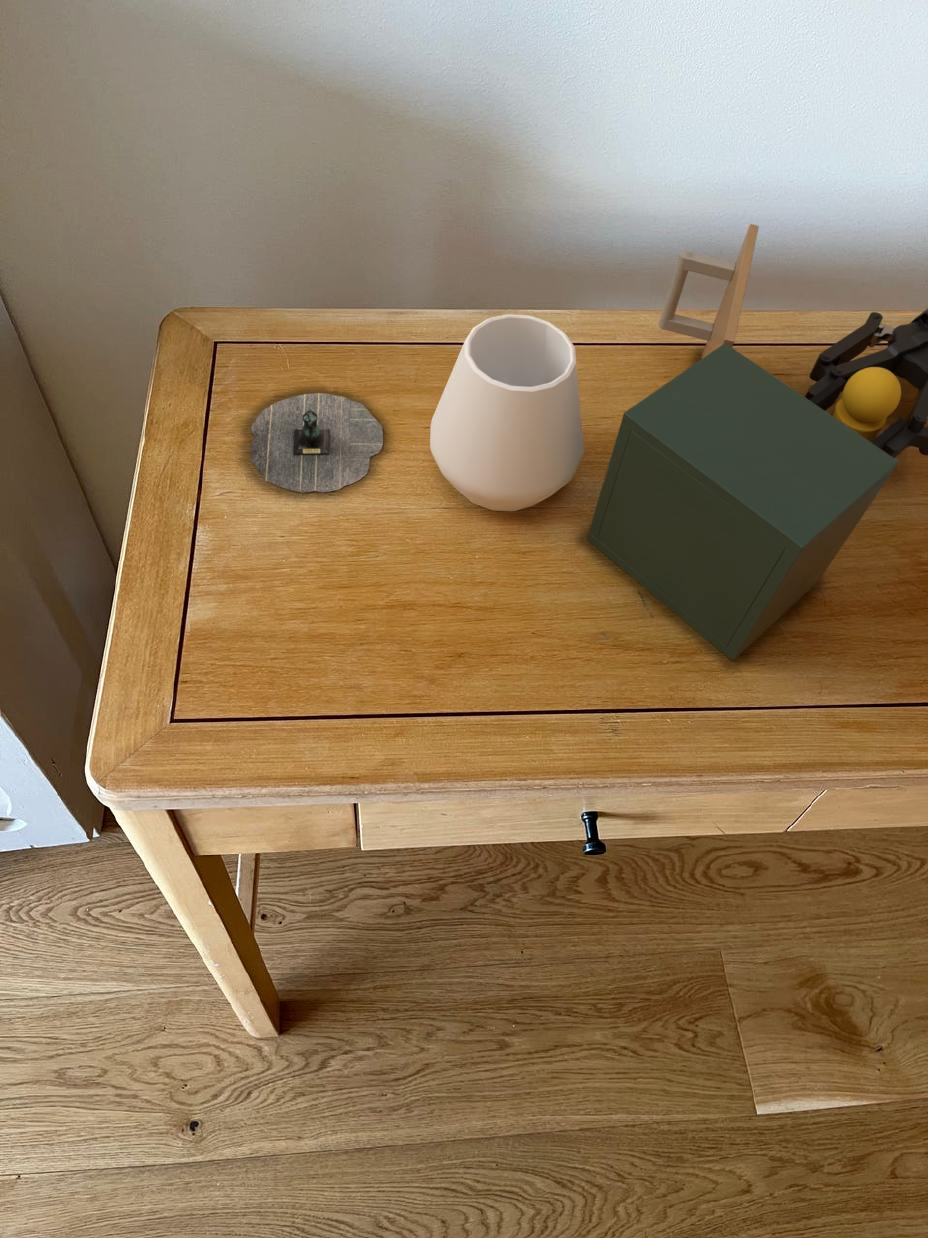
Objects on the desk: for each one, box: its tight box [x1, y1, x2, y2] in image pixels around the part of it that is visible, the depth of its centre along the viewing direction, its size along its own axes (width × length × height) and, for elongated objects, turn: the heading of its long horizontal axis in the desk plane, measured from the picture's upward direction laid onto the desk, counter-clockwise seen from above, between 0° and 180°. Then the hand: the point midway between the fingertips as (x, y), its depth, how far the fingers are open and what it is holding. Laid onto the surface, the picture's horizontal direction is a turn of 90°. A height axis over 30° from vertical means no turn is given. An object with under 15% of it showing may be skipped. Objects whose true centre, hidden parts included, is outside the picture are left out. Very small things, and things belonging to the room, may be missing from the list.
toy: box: [829, 367, 902, 442], centre depth 82 cm, size 5×5×11 cm
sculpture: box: [249, 392, 384, 494], centre depth 84 cm, size 12×9×8 cm
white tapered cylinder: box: [429, 313, 585, 512], centre depth 77 cm, size 13×13×14 cm
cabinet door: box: [658, 223, 760, 360], centre depth 83 cm, size 6×16×15 cm, turn 163°
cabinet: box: [586, 343, 900, 662], centre depth 73 cm, size 12×16×15 cm
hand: (825, 444), depth 79 cm, fingers open, 6 cm apart
